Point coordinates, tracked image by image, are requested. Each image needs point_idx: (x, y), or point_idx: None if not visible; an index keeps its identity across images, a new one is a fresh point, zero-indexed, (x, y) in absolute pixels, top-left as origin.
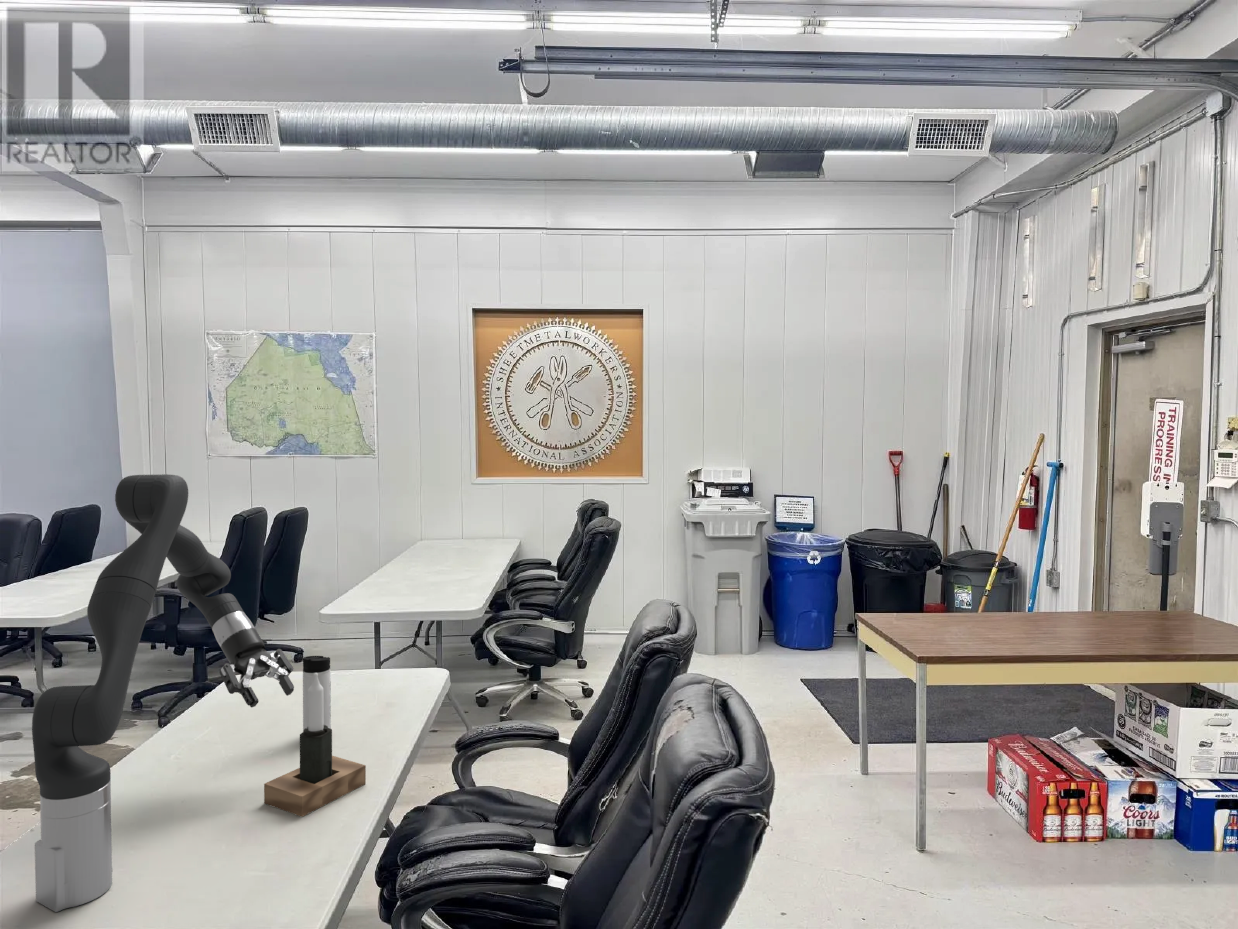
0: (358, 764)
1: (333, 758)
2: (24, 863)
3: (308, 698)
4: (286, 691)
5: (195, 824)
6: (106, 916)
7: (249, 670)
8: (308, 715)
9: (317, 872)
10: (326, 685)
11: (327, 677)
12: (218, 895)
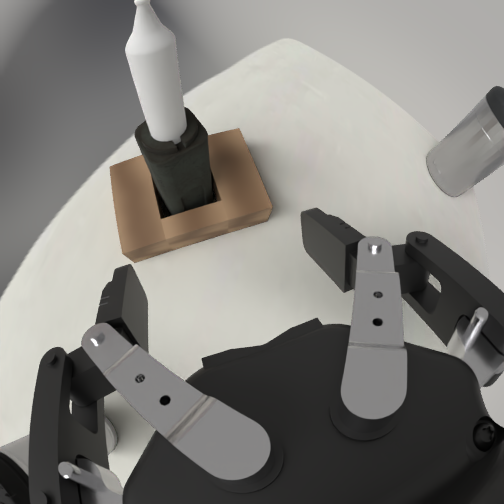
0: (113, 176)
1: (126, 228)
2: (482, 262)
3: (176, 60)
4: (141, 299)
5: (362, 226)
6: (420, 126)
7: (382, 300)
8: (181, 99)
9: (269, 63)
10: (19, 439)
11: (5, 445)
12: (348, 88)
